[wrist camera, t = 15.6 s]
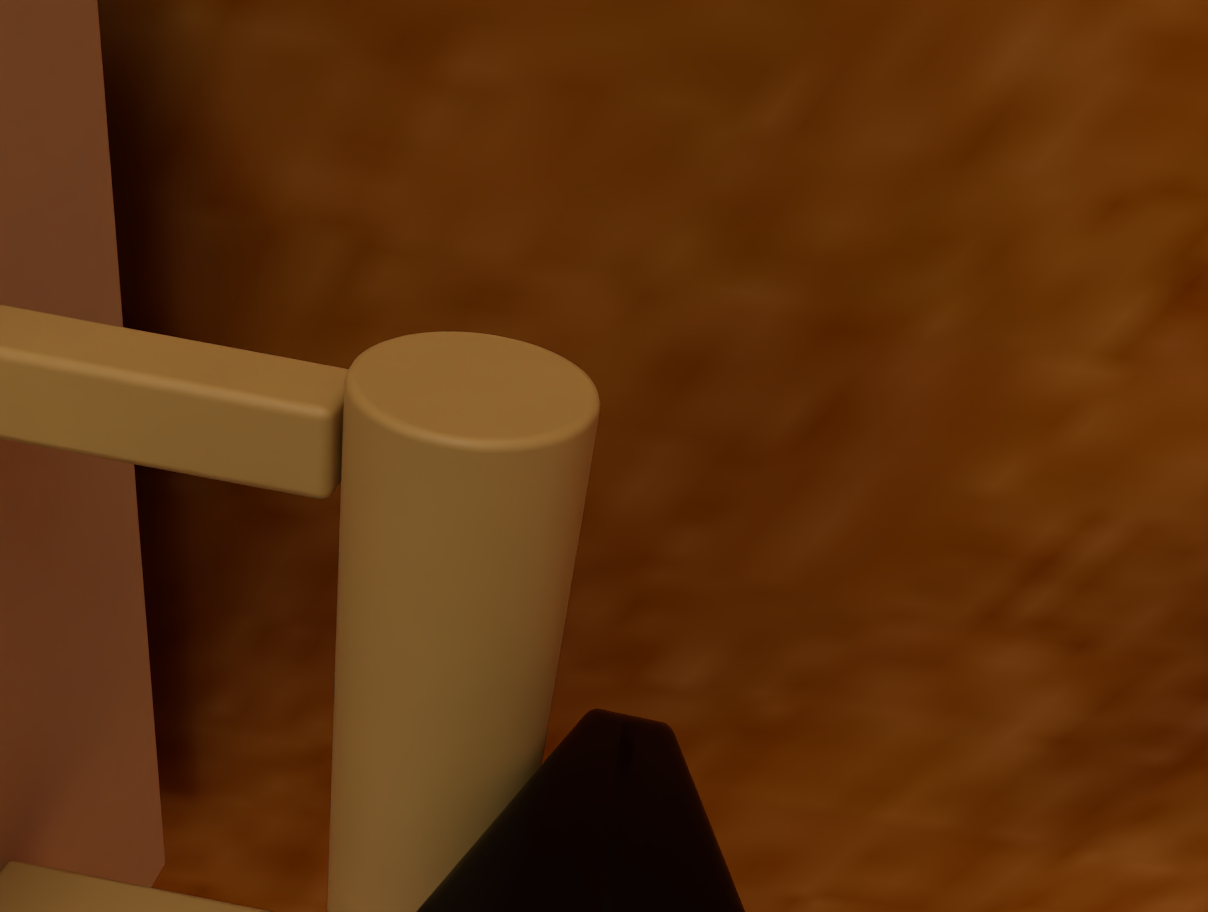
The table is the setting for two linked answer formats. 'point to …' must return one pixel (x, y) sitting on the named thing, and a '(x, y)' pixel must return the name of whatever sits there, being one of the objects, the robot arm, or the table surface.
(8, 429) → the drawer
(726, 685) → the table surface
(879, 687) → the table surface
